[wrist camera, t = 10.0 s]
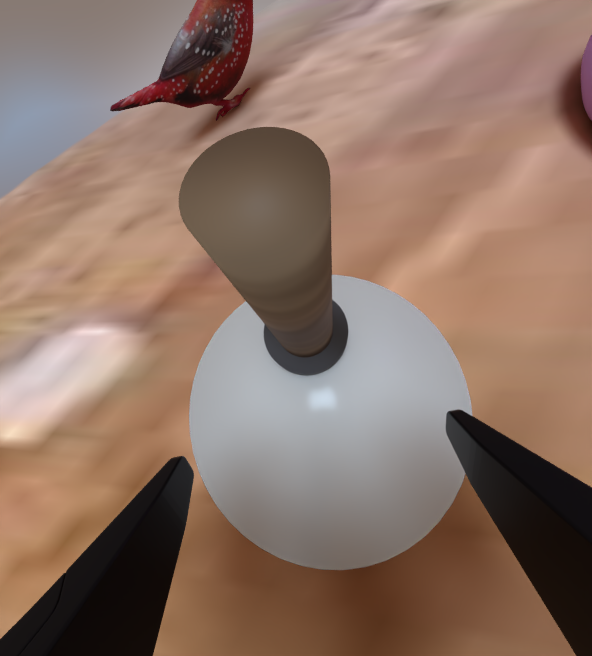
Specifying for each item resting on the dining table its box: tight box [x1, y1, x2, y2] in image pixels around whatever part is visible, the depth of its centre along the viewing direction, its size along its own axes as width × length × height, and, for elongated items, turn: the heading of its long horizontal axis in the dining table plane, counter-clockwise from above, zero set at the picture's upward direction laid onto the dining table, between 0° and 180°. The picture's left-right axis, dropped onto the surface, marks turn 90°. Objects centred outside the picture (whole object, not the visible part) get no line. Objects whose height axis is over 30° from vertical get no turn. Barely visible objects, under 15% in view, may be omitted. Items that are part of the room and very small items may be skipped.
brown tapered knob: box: [179, 127, 348, 376], centre depth 12 cm, size 6×6×13 cm
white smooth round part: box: [189, 275, 472, 570], centre depth 17 cm, size 18×18×1 cm
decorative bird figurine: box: [111, 0, 253, 120], centre depth 23 cm, size 3×18×10 cm, turn 138°
